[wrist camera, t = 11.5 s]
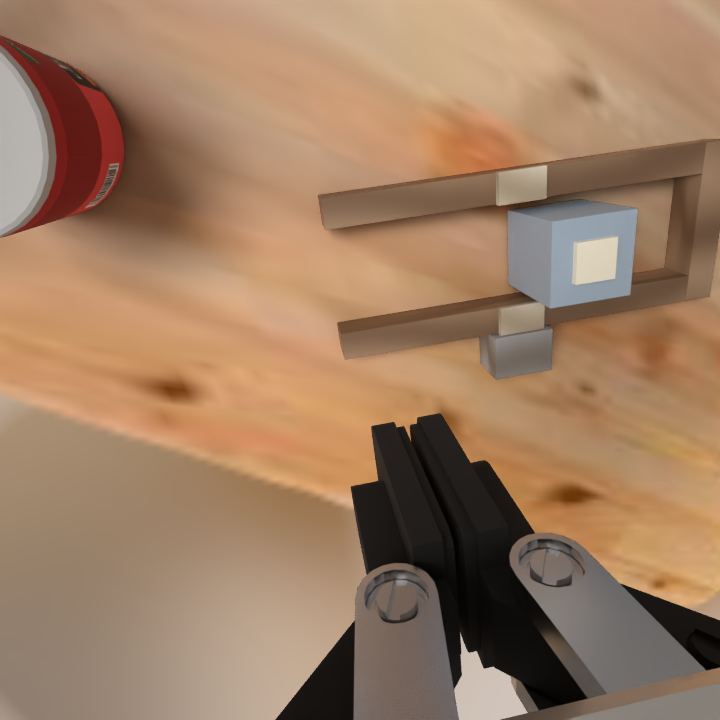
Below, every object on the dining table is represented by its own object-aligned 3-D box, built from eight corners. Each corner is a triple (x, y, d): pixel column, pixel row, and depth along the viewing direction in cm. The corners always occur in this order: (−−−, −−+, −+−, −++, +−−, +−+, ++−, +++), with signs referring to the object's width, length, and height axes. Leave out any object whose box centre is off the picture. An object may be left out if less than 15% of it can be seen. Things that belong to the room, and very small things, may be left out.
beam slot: (317, 194, 32) (321, 198, 29) (704, 138, 34) (741, 137, 31) (346, 386, 37) (352, 405, 34) (679, 327, 39) (709, 340, 36)
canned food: (111, 55, 27) (12, -1, 17) (143, 209, 30) (75, 237, 20) (-43, 60, 27) (-240, 4, 16) (6, 218, 30) (-136, 252, 20)
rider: (507, 210, 33) (555, 222, 28) (579, 199, 34) (642, 209, 28) (508, 283, 35) (553, 310, 30) (576, 272, 36) (634, 296, 30)
